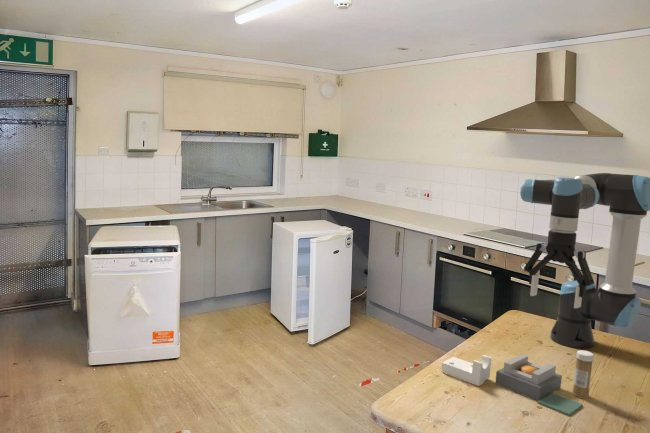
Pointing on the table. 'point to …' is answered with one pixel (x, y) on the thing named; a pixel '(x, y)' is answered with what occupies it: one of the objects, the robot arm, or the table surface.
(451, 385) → the table surface
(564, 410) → the mat
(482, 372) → the bracket
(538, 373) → the grey square holder
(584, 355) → the sprinkles bottle
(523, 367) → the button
